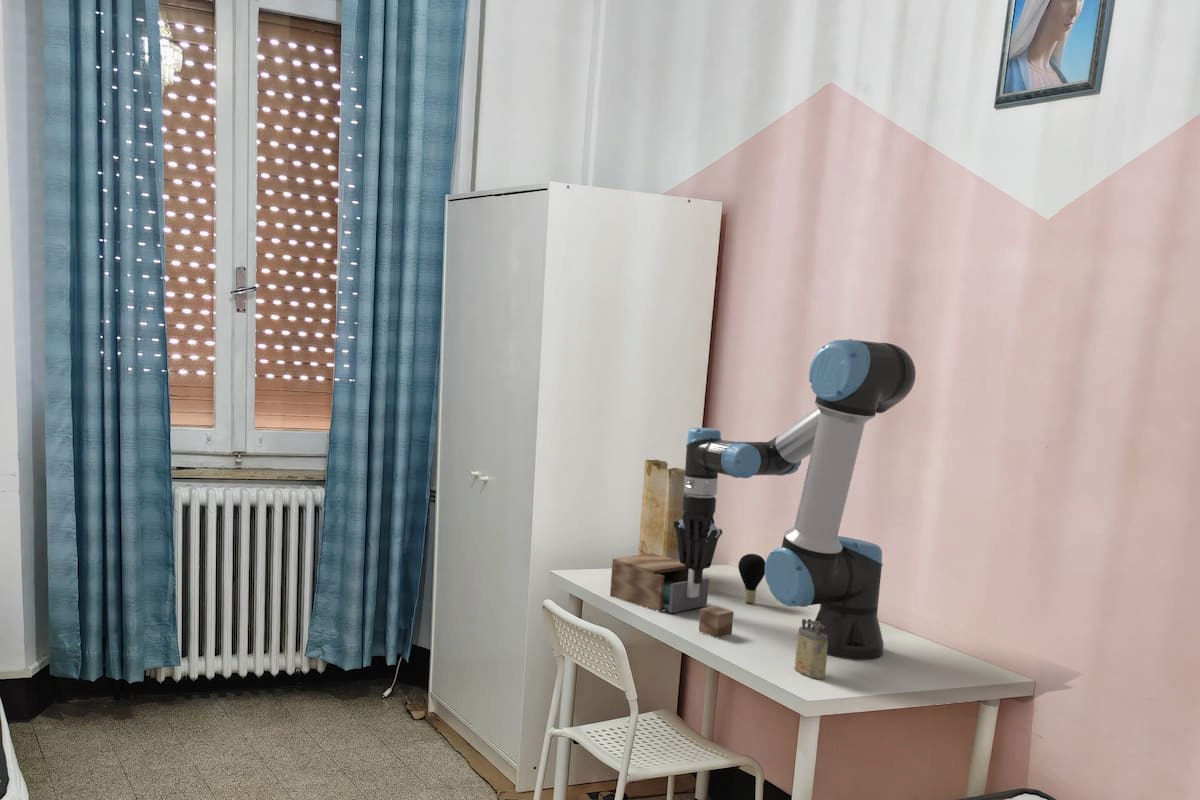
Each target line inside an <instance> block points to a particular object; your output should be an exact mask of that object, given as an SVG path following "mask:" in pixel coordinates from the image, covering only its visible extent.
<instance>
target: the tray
mask: <svg viewBox="0 0 1200 800" xmlns="http://www.w3.org/2000/svg"><path fill="white" fill-rule="evenodd" d="M709 580H710V578H709V577H702V582H701V583H700V584H699V596H698V597H693V598H689V597H687V586H688V581H684V582H678V583H673V584H671V587H670V601H669V603H663V604H662V609H663V610H666V611H667V612H668V613H669V614H670V613H671V614H672V613H677V612H682V611H687V610H691V609H696V608H701V607H706V606H707V605H708V596H709V595H708V593H709V582H710V581H709ZM666 611H665V612H666Z"/></svg>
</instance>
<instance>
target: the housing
mask: <svg viewBox="0 0 1200 800" xmlns="http://www.w3.org/2000/svg"><path fill="white" fill-rule="evenodd" d="M611 564H612V565H611V576H610V577H611V579H610V591H609V597H612V598H615V597H616V598H615V599H618V598H619V600H621V599H622V601H624V600H625V601H624V602H627V601H628V603H630V602H632V603H631V604H634V603H635V604H634V605H637V604H638V605H637V606H640V605H641V606H640V607H643V606H644V607H643V608H646V607H648V608H647V609H649V608H650V609H649V610H652V609H654V610H653V611H655V610H658V611H661V612H664V611H663V609H662V604H663V590H664V580H667V581H676V582H684V581H686V570H687V568H686V566H685V565H684V564H681V563H680V561H679V560H675V559H671V558H668V557H664V556H660V555H657V554H653V553H651V554H644V555H631V556H624V557H617V558H612V563H611ZM658 611H657V612H658Z"/></svg>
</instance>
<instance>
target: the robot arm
mask: <svg viewBox="0 0 1200 800" xmlns="http://www.w3.org/2000/svg"><path fill="white" fill-rule="evenodd" d="M808 380H809V383H811V384H810V388H811V390H812V392H813V394H815V395H816V397H815V401H814V404H815V406H816V408H815V409H814V410H812V411H811V412H809V413H807V415H805V416H804V417H802V418H800V419H799V420H798V421H796V422H794V424H792V425H791V426H789V427H788V428H787V429H785V430H784V431H782V432H781V433H780V434H778V435H776V436H775V437H773V438H772V439H770V440H769V441H729V440H723V439H722V438H721V431H720V430H719V429H717V428H712V427H711V428H709V427H692V428H690V429H689V430H688V433H687V438H686V439H687V440H686V445H685V447H686V451H685V454H686V455H685V468H684V469H685V482H684V492H685V493H686V495H684V496H683V511H684V514H683V516H682V519H681V520H679V521H675V522H674V527H675V529H676V533H677V541H678V550H679V558H680V563H681V564H684V565H685V566H686V568H687V570H686V581H688V586H687V597H689V598H693V597H698V596H699V584H700V583H701V582H702V578H703V572H704V569H709V568H710V567H711V565H712V562H713V558H714V556H715V555H714V554H715V551H716V549H717V544H718V541H719V538H720V537H721V536H722V534H723V530H722V528H717V526H716V525H715V519H714V514H715V512H716V507H717V506H716V504H717V498H716V497H715V496H716V495H717V493H718V478H719V477H718V475H719V474H721V475H726V476H730V477H732V478H734V479H735V478H736V479H738V478H739V479H749V478H752V477H753V476H782V477H783V476H785V475H791V474H794V473H796V472H797V471H799V468H800V466H801V464H802V460H803V459H805V458H807V457H808V456H809V462H808V464H807V465H808V467H807V469H806V470H807V471H806V474H805V479H804V482H803V483H804V484H803V487H802V492H801V495H800V500H799V504H798V508H797V514H796V516H795V517H796V518H795V522H794V526H793V527H791V528H789V529H788V530H786V531H785V532H784V536H783V539H782V543H781V547H776V548H775V549H774V550H773V551H770V552H769V554H768V555H767V558H766V560H765V575H764V578H765V580H766V584H767V585H768V587H769V588H768V589H769V591H770V593H771V594H772V595H773V597H774V598H775V599H776V600H777V601H778V602H780V603H781V604H782V605H784V606H787V607H793V608H794V607H801V608H806V607H809V606H815V605H819V610H818V611H817V613H816V617H815V620H814V621H819V622H821V624H822V625H824V626H825V628H824V629H821V628H820V629H819V631H820V632H822V633H824V634H826V635H827V636H828V638H827V641H828V647H827V655H830V656H834V657H838V658H842V659H843V658H844V659H851V660H870V659H872V660H873V659H877V658H880V657H882V656H883V653H884V639H883V635H882V631H881V627H880V623H879V618H878V612H879V611H878V609H879V598H880V589H881V588H880V586H881V579H882V578H881V577H882V576H881V575H882V567H883V561H882V560H883V551H882V548H881V547H880V546H879V545H878V544H875V543H873V542H870V541H865V540H862V539H855V538H853V537H846V536H840V535H838V534H839V530H840V527H841V523H842V520H843V519H842V518H843V514H844V511H845V506H846V502H847V498H848V494H849V490H850V486H851V481H852V478H853V474H854V471H855V470H854V469H855V465H856V461H857V457H858V455H859V454H858V453H859V450H860V445H861V440H862V436H863V434H864V428H865V425H866V423H867V422H868V421H870V420H872V419H873V418H875V417H876V414H884V413H885V412H887V411H889V410H891V408H893V407H894V406H896V405H897V404H899V403H900V402H901V401H903V400H904V399H906V397H907V396H908V395H909V394H910V392H911V391H912V389H913V387H914V385H915V381H916V366H915V363H914V361H913V359H912V357H911V355H910V354H909V353H908V352H907V351H906V350H904V349H903V348H902V347H900V346H898V345H897V344H896V345H895V344H894V343H890V342H889V343H887V342H875V341H868V340H867V341H864V340H860V339H859V340H858V339H852V338H850V339H835V340H833V341H829V342H828V343H826V344H825V345H823V346H822V347H821V348H820V349H819V350H818V351H817V352H816V353H815V355H814V356H813V359H812V361H811V363H810V366H809V372H808ZM811 628H813V625H811ZM813 629H814V628H813Z"/></svg>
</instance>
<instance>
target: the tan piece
mask: <svg viewBox="0 0 1200 800" xmlns="http://www.w3.org/2000/svg"><path fill="white" fill-rule="evenodd" d="M668 465H669V464H668V462H667V461H665V460H659V459H647V460H645V461H644V473H643V483H642V484H643V486H642V497H641V498H642V499H641V510H640V512H641V513H640V525H639V529H640V530H639V540H638V541H639V542H638V555H644V554H651V553H653V554H657V555H660V556H664V557H668V558H671V559H675V560H679V561H680V558H679V550H678V541H677V533H676V529H675V527H674V522H675V521H679V520H681V519H682V516H683V514H684V511H683V496H684V495H686V493H685V492H684V482H685V468H679V467H671V468H668Z"/></svg>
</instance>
